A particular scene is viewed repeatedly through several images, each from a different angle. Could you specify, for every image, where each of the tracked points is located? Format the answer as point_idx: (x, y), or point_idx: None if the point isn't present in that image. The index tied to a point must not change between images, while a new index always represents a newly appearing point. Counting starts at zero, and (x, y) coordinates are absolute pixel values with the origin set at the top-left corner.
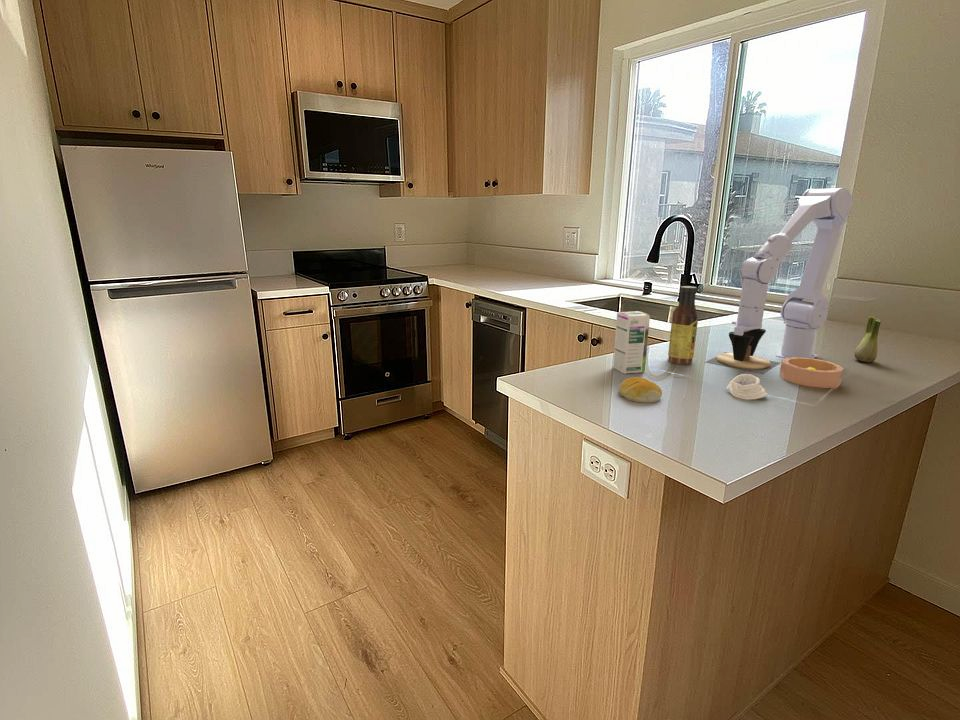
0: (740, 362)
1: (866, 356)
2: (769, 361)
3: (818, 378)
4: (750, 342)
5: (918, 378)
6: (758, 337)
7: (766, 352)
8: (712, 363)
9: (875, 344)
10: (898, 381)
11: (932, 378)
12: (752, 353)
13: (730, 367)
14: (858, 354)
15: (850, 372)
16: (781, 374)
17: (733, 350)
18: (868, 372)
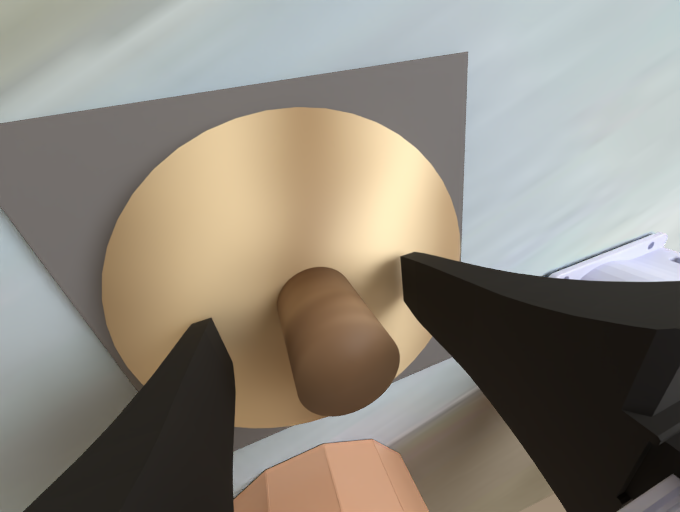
0: None
1: None
2: (397, 374)
3: None
4: (474, 339)
5: (537, 491)
6: (520, 432)
7: (610, 199)
8: (5, 212)
9: None
10: (491, 506)
11: (551, 491)
12: (413, 312)
13: (103, 341)
14: None
15: (501, 452)
16: (245, 508)
17: (146, 388)
18: (527, 456)
